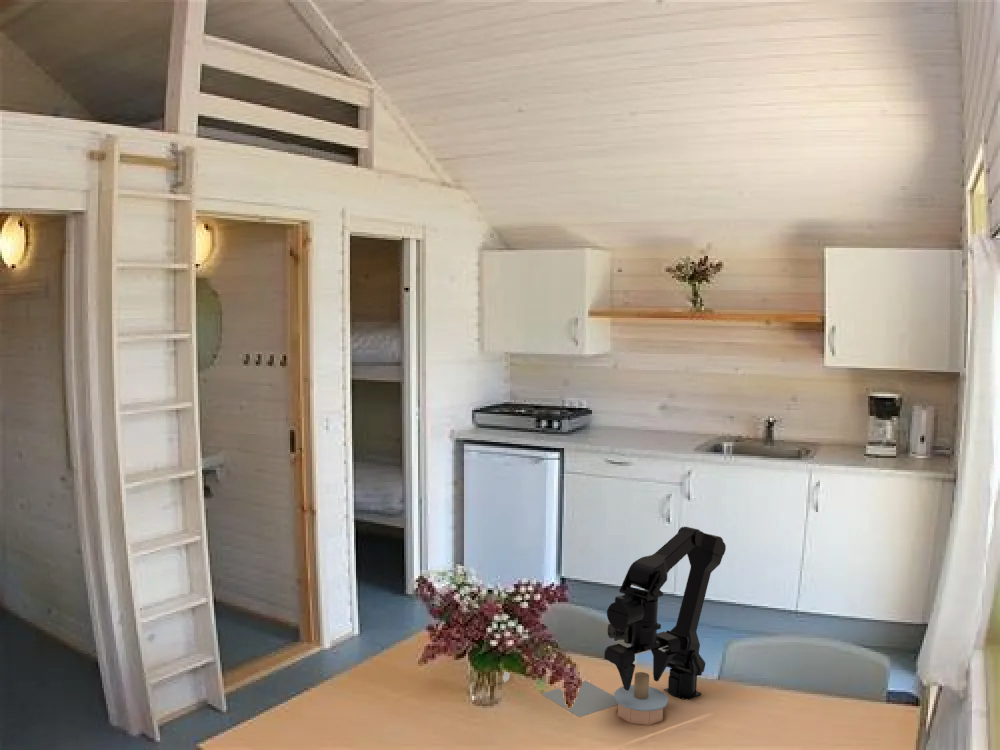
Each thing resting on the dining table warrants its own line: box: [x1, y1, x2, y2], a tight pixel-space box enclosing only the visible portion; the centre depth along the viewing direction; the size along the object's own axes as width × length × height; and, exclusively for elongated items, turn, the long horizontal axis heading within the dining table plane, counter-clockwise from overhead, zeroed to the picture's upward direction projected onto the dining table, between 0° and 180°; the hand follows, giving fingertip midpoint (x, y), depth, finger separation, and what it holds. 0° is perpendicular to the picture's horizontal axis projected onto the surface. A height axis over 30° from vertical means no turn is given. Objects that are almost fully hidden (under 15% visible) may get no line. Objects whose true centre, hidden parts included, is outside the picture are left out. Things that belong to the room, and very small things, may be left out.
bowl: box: [617, 703, 664, 726], centre depth 200 cm, size 10×10×4 cm
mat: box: [540, 680, 618, 718], centre depth 207 cm, size 14×14×1 cm
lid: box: [613, 671, 669, 711], centre depth 200 cm, size 12×12×6 cm
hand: (641, 685), depth 200 cm, fingers open, 9 cm apart
